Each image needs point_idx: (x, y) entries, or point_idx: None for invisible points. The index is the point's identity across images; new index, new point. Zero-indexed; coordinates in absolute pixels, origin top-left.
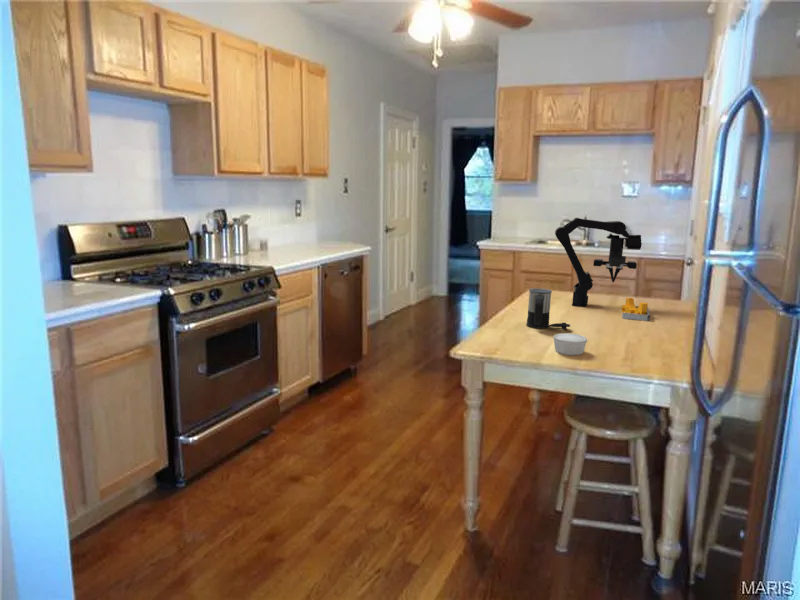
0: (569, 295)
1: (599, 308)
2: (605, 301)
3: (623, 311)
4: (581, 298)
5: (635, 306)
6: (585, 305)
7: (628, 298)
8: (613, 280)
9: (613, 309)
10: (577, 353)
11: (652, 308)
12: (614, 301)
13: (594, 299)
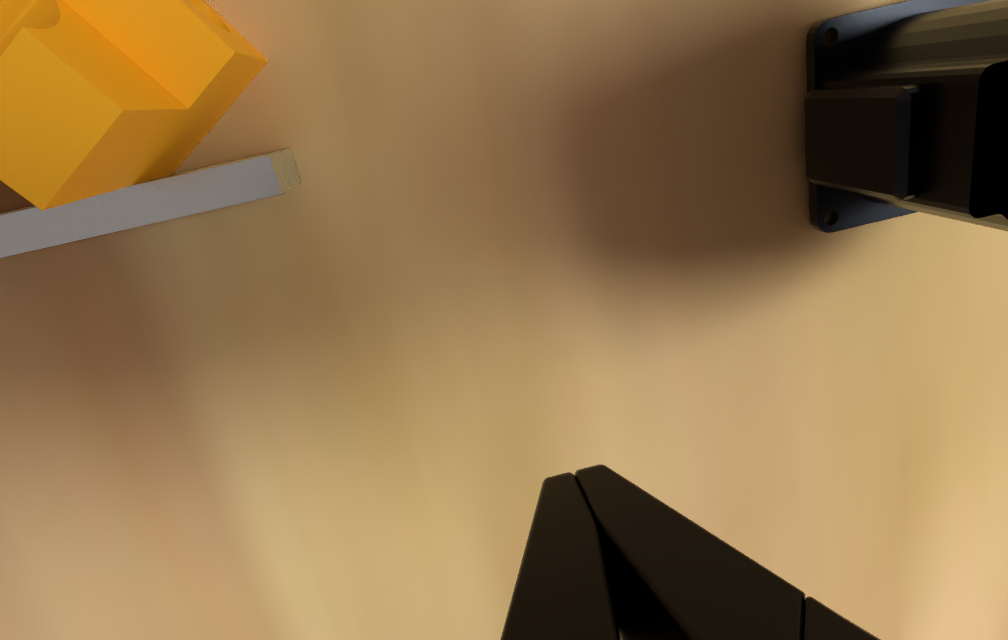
0: (1004, 586)
1: (611, 76)
2: None
3: (216, 14)
4: (986, 8)
5: None
6: (825, 58)
7: (52, 76)
8: (576, 499)
9: (416, 144)
10: None
11: (14, 559)
12: None
13: None
